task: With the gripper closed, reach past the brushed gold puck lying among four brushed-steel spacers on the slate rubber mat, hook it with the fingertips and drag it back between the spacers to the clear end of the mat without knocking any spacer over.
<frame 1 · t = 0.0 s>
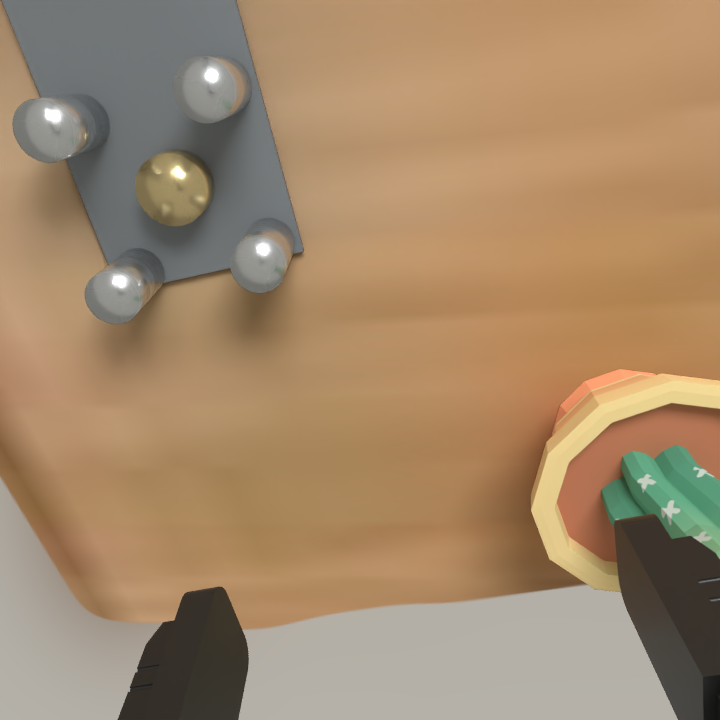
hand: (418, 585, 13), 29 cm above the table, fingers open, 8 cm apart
potted cactus: (616, 425, 46), on the table
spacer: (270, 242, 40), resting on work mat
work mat: (139, 56, 36), on the table
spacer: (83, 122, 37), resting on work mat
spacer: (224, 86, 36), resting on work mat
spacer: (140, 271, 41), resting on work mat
brushed gold puck: (180, 184, 38), resting on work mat
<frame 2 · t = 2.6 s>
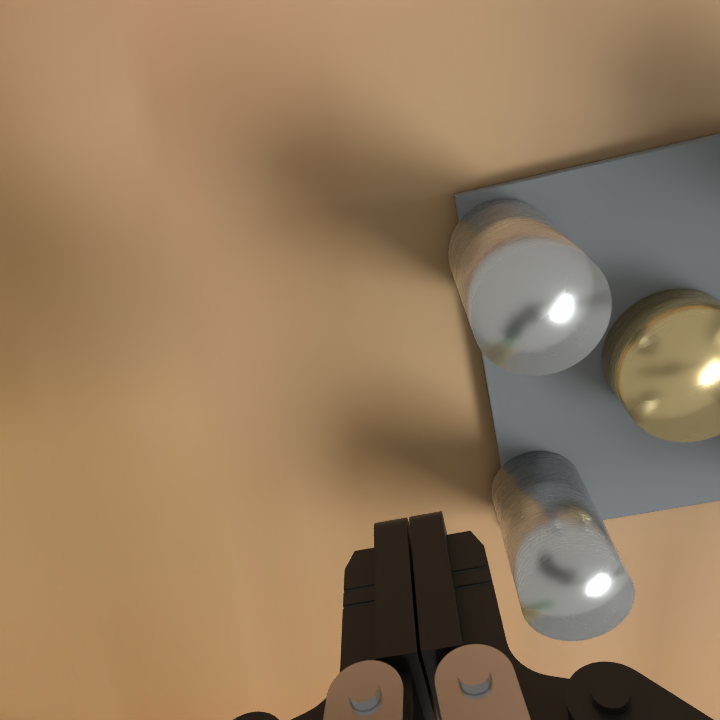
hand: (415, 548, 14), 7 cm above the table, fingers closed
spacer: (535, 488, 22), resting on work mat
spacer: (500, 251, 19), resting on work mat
brushed gold puck: (668, 350, 20), resting on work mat
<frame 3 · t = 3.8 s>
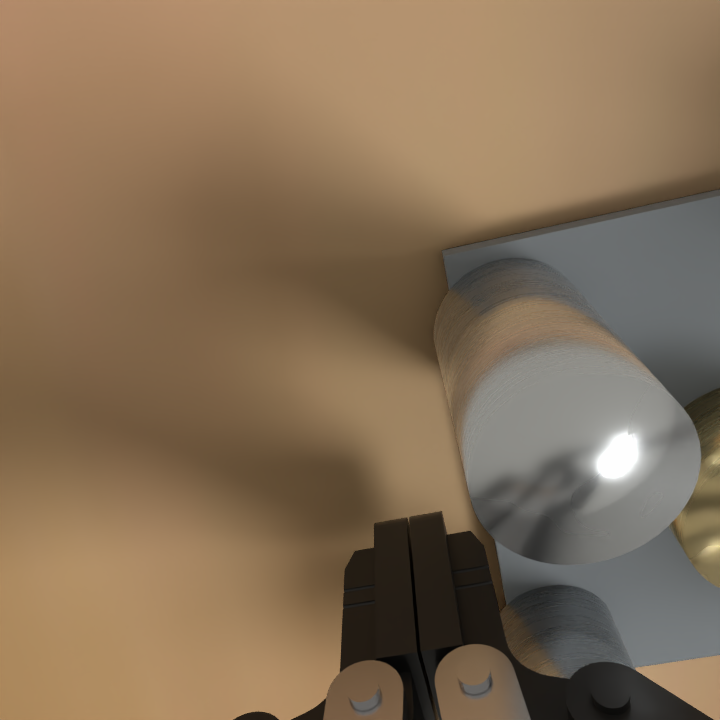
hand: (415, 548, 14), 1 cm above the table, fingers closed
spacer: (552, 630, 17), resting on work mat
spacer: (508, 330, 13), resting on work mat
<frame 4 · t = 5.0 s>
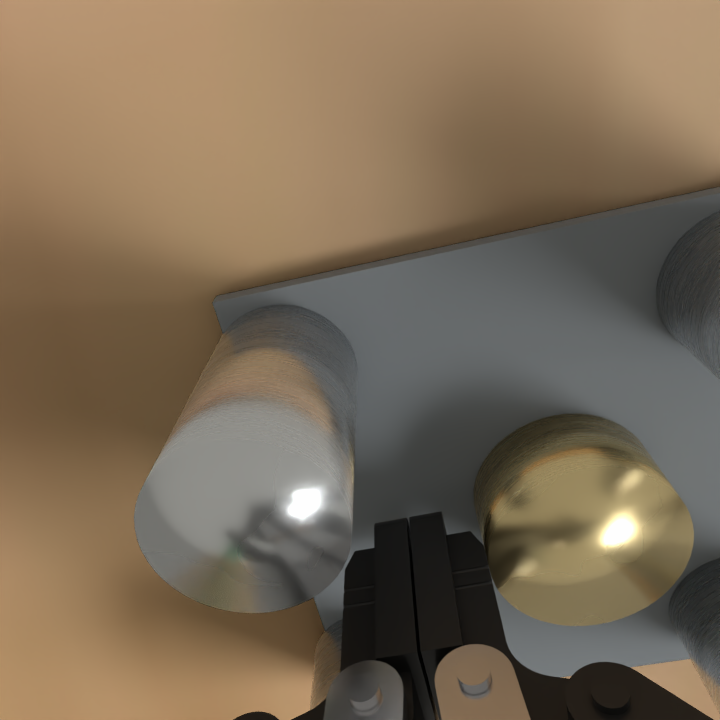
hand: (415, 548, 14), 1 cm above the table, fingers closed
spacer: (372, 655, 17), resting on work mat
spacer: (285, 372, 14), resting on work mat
brushed gold puck: (562, 490, 15), resting on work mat, touching gripper
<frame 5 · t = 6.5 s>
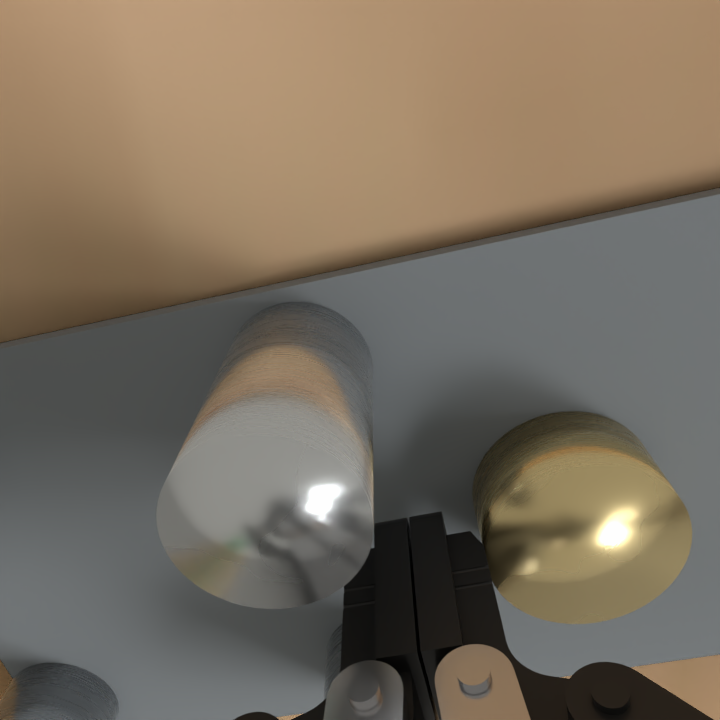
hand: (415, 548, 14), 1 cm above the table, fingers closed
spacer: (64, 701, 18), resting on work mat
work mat: (451, 498, 15), on the table
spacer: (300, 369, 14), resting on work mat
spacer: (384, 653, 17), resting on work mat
brushed gold puck: (561, 488, 15), resting on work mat, touching gripper
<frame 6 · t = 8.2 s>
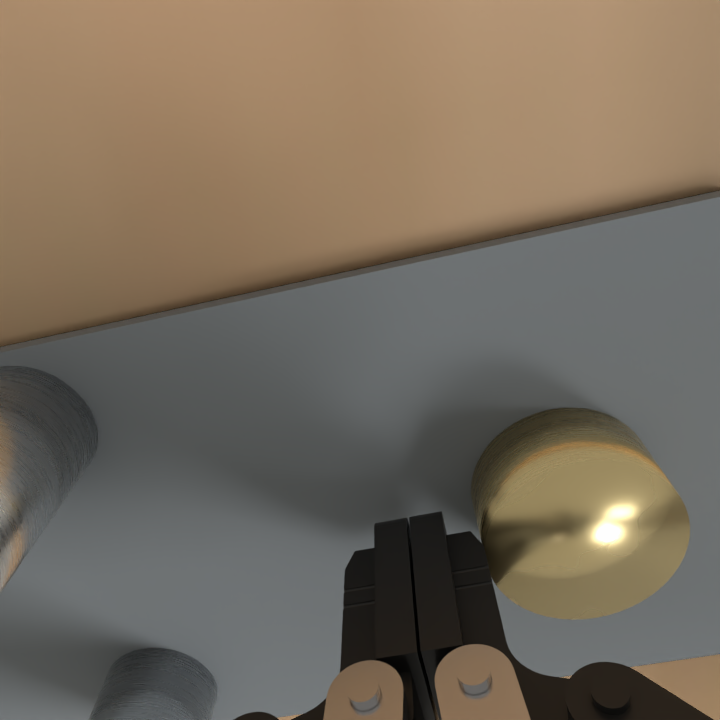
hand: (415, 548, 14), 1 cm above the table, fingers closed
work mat: (203, 543, 16), on the table
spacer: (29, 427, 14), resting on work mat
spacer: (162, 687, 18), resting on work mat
brushed gold puck: (559, 484, 15), resting on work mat, touching gripper
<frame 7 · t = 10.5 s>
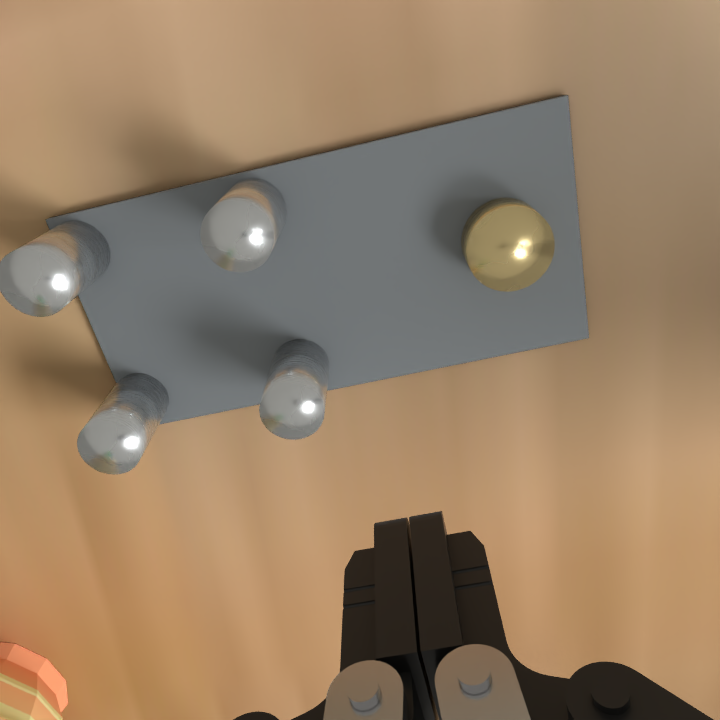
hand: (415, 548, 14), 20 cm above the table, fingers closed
potted cactus: (5, 683, 46), on the table
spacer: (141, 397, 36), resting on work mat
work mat: (328, 278, 33), on the table
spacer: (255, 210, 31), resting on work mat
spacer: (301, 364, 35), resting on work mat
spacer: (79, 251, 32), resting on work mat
brushed gold puck: (502, 239, 32), resting on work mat
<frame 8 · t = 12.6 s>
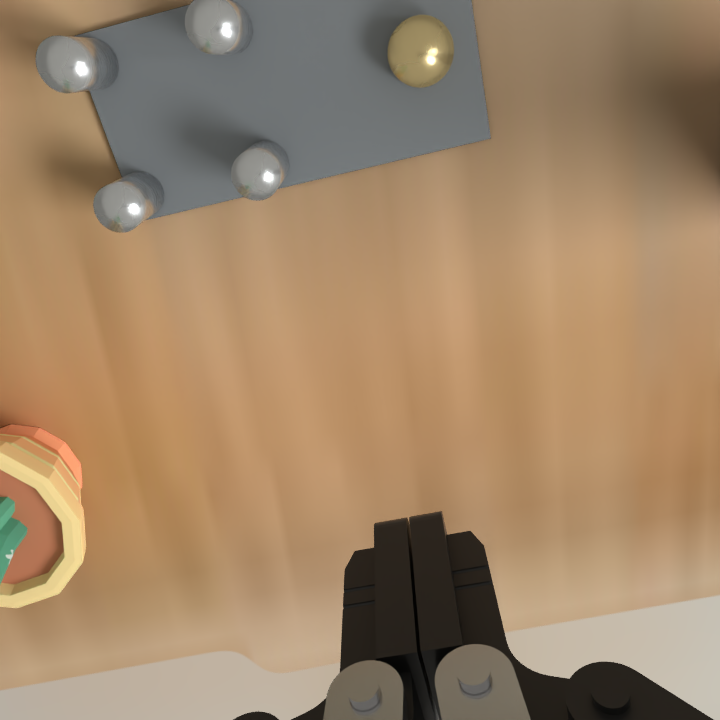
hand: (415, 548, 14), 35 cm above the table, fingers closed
potted cactus: (30, 468, 56), on the table
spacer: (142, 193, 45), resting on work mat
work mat: (286, 88, 43), on the table
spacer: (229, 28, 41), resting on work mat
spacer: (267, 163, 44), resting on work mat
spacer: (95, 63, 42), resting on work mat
brushed gold puck: (418, 52, 41), resting on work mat
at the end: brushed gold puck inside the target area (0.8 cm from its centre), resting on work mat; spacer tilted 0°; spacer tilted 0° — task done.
